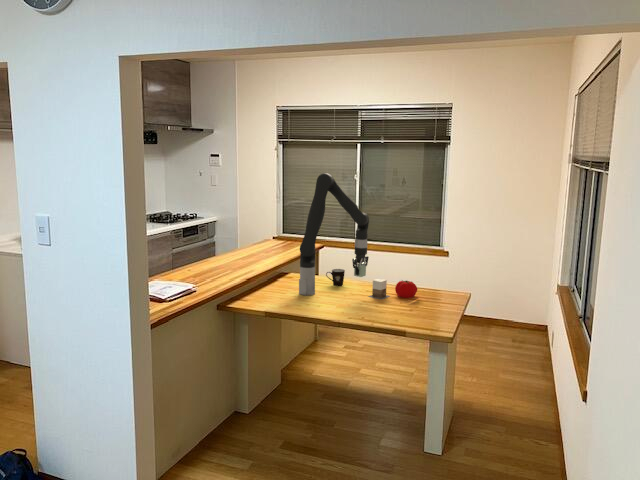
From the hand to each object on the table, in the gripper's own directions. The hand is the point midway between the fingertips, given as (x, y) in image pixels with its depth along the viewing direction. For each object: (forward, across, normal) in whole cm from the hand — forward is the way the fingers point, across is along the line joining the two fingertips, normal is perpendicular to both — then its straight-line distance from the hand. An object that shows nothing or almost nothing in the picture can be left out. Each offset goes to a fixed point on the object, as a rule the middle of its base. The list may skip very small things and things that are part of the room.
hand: (359, 274), depth 321 cm
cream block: (+8, +6, -10) cm, 15 cm away
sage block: (+1, 0, 0) cm, 1 cm away
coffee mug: (+15, +14, +29) cm, 35 cm away
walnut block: (+13, +6, -10) cm, 18 cm away
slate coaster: (+14, +6, -10) cm, 18 cm away
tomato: (+14, +18, -22) cm, 32 cm away
